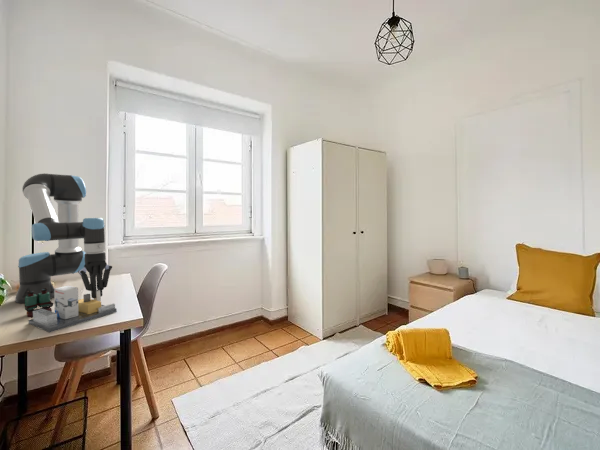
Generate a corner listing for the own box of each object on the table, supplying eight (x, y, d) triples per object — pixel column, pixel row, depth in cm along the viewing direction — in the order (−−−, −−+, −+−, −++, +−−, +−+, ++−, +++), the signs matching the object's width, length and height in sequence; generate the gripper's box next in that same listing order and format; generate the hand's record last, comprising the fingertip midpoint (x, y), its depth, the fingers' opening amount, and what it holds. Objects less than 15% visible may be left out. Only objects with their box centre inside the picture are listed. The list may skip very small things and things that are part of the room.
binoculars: (27, 296, 113) (22, 290, 119) (28, 321, 114) (22, 313, 120) (55, 291, 120) (49, 285, 126) (56, 314, 122) (50, 307, 127)
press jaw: (73, 309, 121) (73, 294, 120) (86, 306, 125) (86, 291, 125) (88, 314, 115) (87, 298, 115) (101, 310, 120) (100, 294, 119)
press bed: (28, 323, 110) (27, 310, 109) (94, 305, 131) (94, 294, 130) (49, 332, 101) (48, 317, 101) (116, 311, 122) (116, 299, 122)
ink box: (54, 316, 113) (52, 288, 113) (68, 312, 118) (67, 285, 117) (65, 319, 110) (64, 290, 109) (80, 315, 114) (78, 287, 114)
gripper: (82, 255, 115) (85, 310, 116) (115, 251, 126) (117, 301, 128) (73, 254, 118) (76, 307, 119) (106, 250, 130) (108, 299, 131)
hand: (97, 304), depth 123 cm, fingers closed
